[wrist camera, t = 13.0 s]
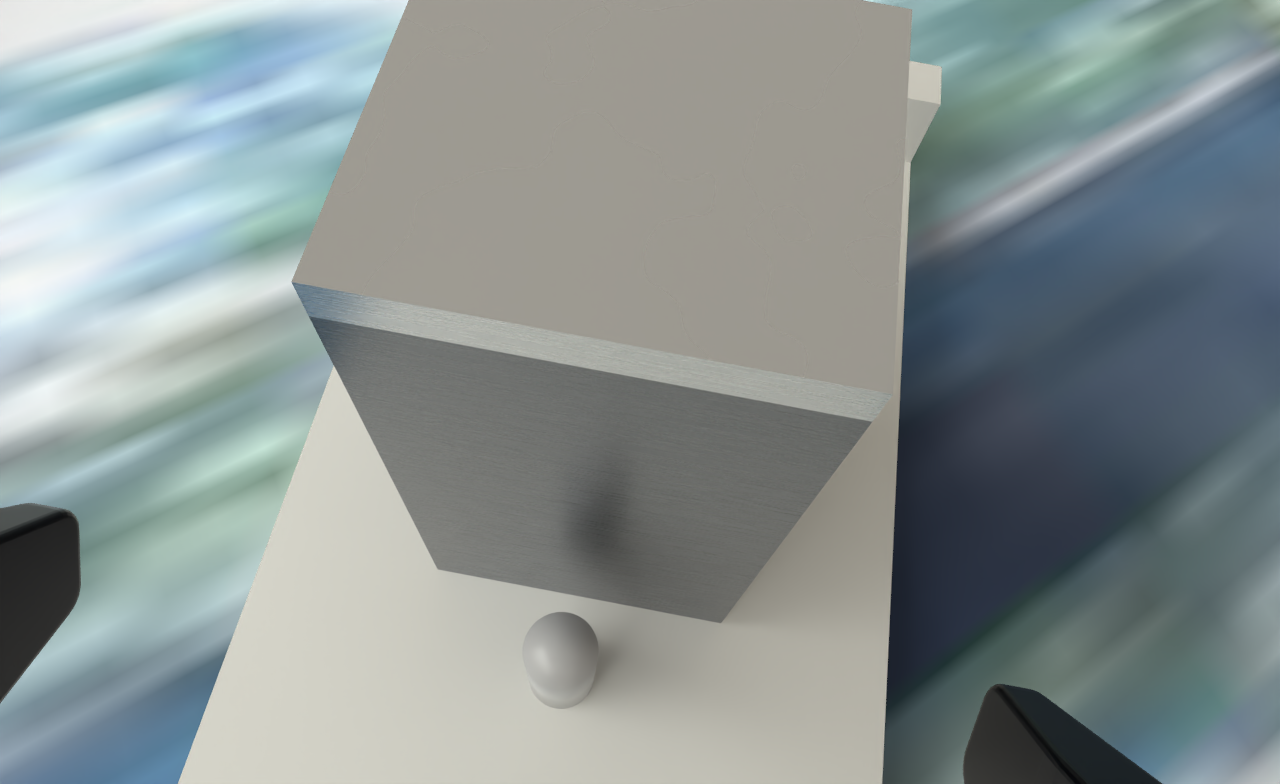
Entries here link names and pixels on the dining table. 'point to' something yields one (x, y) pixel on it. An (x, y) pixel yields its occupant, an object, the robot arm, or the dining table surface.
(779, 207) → the block
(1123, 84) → the dining table surface
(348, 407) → the tray
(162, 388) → the dining table surface
